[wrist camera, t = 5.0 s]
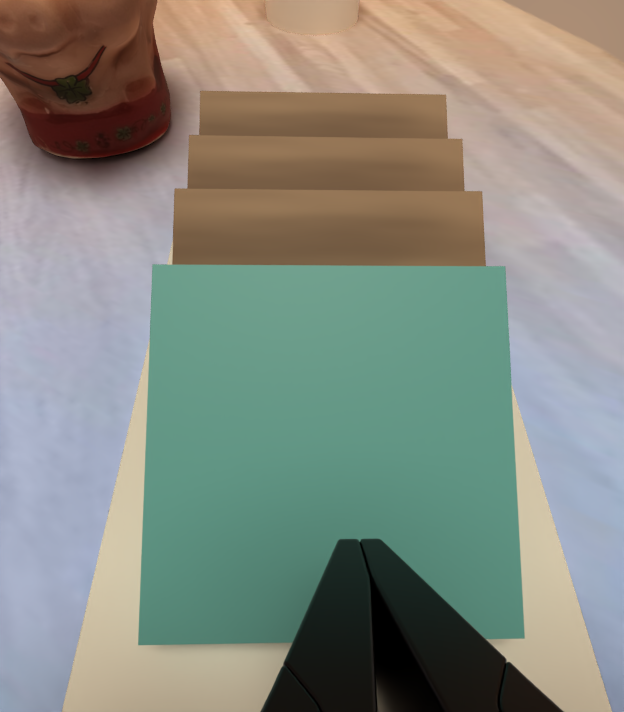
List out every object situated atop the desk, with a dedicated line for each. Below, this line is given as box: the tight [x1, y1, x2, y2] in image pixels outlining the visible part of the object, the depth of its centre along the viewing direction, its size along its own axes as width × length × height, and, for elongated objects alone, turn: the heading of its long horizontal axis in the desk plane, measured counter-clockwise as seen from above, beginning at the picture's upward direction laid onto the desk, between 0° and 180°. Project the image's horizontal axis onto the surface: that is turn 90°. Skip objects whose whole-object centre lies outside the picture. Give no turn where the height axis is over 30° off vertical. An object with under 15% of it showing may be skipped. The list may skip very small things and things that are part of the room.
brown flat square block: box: [188, 135, 464, 191], centre depth 17 cm, size 2×11×11 cm
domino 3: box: [138, 265, 525, 645], centre depth 13 cm, size 2×11×11 cm
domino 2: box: [172, 189, 486, 266], centre depth 15 cm, size 2×11×11 cm
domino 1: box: [199, 91, 448, 139], centre depth 19 cm, size 2×11×11 cm
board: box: [62, 242, 612, 712], centre depth 17 cm, size 24×16×1 cm, turn 1°
